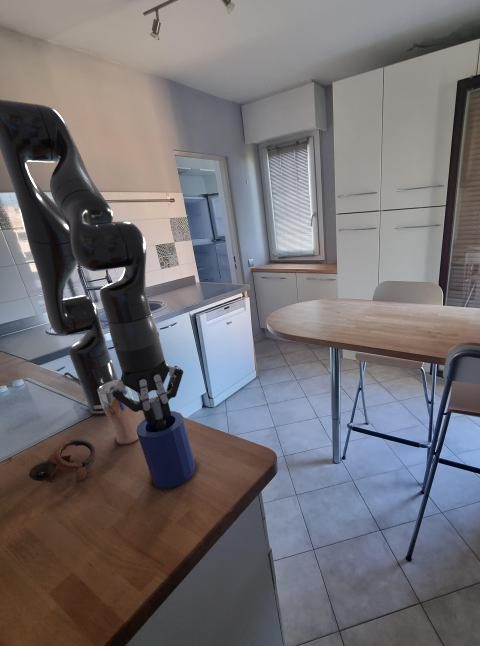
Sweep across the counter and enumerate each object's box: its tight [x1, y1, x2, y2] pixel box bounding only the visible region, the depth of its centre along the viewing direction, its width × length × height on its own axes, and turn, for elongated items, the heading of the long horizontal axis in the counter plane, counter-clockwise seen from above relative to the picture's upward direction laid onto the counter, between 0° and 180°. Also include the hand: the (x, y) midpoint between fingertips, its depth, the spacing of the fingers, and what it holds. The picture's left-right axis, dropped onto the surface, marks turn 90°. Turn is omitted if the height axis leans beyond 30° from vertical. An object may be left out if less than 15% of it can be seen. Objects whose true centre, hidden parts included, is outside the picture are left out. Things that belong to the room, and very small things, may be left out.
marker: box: [149, 396, 167, 432], centre depth 68 cm, size 2×2×14 cm
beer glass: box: [97, 378, 139, 445], centre depth 82 cm, size 7×7×15 cm
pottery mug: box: [28, 439, 97, 483], centre depth 73 cm, size 12×10×8 cm
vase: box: [136, 410, 196, 489], centre depth 70 cm, size 9×9×13 cm
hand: (159, 420), depth 67 cm, fingers closed on marker, 2 cm apart
